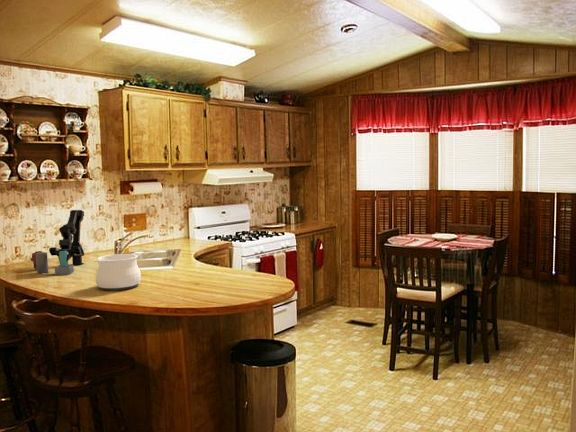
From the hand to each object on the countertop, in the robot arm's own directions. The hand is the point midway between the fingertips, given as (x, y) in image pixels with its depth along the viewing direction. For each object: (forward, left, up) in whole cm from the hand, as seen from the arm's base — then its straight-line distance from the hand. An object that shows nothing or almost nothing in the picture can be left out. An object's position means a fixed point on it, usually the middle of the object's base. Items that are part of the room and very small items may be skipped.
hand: (63, 261), depth 336 cm
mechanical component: (-11, -26, -8) cm, 30 cm away
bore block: (-1, 0, -8) cm, 8 cm away
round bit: (-1, -16, -8) cm, 18 cm away
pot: (+29, +56, -8) cm, 63 cm away
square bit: (-1, 0, -7) cm, 7 cm away
